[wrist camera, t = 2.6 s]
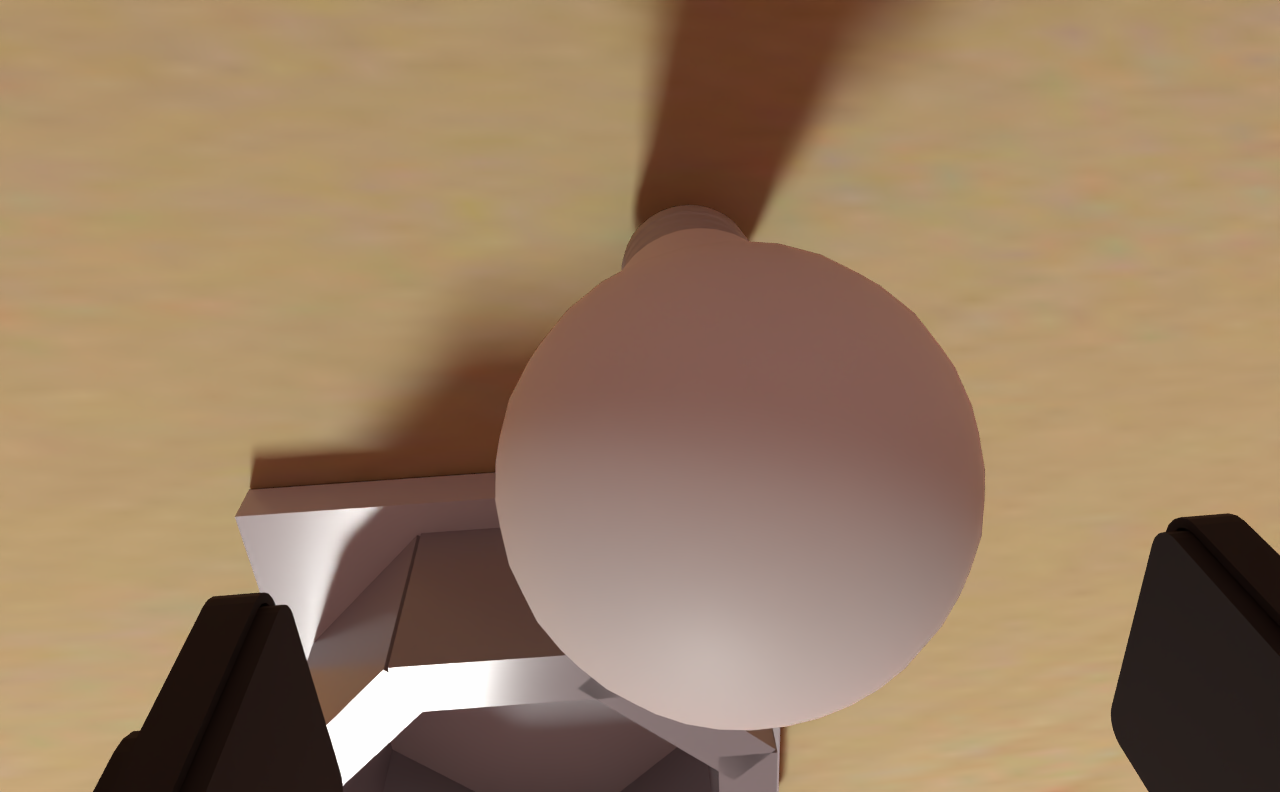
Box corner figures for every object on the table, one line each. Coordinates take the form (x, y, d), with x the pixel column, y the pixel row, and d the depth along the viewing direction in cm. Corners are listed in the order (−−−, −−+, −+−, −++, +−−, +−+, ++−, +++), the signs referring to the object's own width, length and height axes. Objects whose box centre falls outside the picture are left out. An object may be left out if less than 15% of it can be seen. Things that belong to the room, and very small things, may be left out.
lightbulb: (777, 40, 17) (1001, 286, 8) (872, 319, 20) (1121, 746, 11) (475, 176, 18) (349, 540, 9) (607, 423, 21) (620, 897, 12)
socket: (778, 452, 22) (825, 604, 18) (771, 797, 28) (804, 974, 24) (249, 489, 22) (163, 651, 17) (357, 828, 28) (313, 1010, 23)
